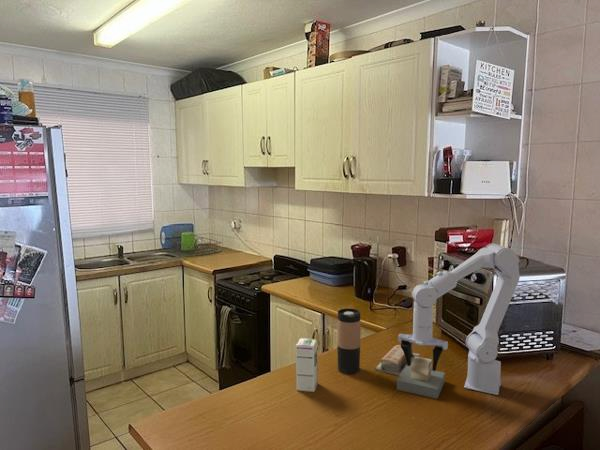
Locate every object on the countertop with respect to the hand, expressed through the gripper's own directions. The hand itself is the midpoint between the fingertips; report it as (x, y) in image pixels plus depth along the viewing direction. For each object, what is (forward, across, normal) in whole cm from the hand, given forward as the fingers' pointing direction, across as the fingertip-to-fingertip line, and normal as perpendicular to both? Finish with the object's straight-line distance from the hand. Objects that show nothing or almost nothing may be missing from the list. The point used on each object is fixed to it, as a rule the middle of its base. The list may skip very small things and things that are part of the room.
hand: (421, 367), depth 133 cm
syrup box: (+6, -31, -17) cm, 36 cm away
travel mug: (+6, -24, 0) cm, 25 cm away
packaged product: (+7, -11, +12) cm, 18 cm away
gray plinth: (+6, 0, 0) cm, 6 cm away
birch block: (+3, 0, 0) cm, 3 cm away
